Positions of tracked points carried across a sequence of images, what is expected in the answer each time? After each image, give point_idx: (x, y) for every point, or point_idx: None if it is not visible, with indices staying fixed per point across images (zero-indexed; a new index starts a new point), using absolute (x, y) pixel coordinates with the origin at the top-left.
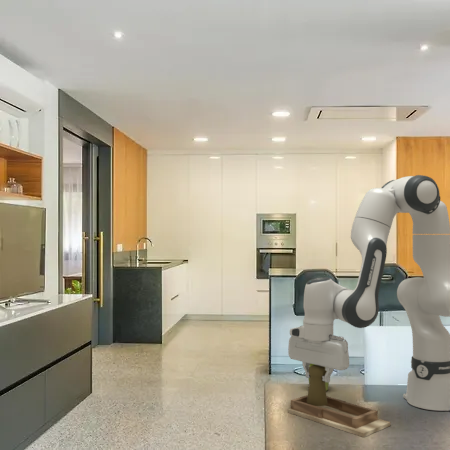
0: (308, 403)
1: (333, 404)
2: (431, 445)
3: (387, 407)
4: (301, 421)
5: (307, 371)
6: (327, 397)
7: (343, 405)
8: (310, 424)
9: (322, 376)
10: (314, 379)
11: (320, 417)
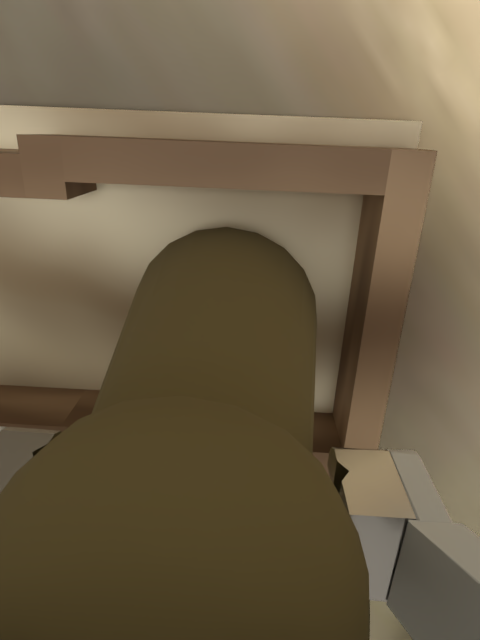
0: (257, 235)
1: None
2: None
3: None
4: (184, 10)
5: (407, 530)
6: None
7: (56, 413)
8: (83, 7)
9: None
10: (159, 381)
11: (63, 134)
